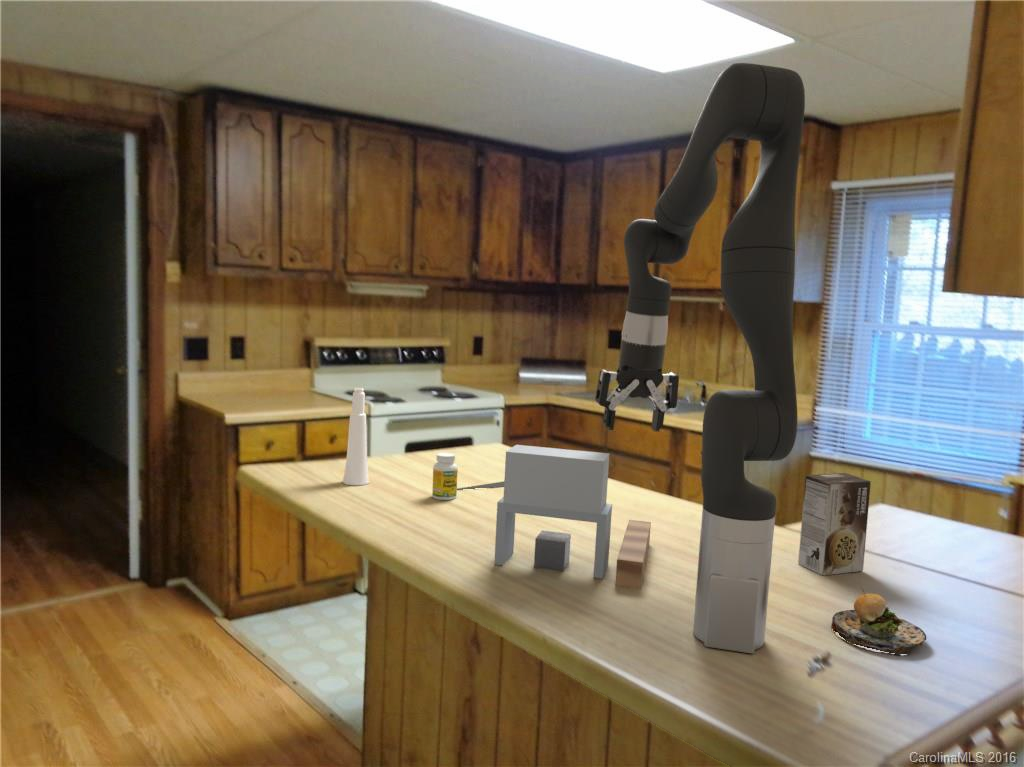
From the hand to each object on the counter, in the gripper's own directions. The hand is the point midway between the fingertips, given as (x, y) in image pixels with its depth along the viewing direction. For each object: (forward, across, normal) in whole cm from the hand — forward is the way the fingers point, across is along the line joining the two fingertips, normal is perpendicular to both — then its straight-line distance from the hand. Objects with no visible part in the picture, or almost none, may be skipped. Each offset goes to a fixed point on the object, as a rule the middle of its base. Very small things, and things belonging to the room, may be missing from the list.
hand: (632, 429), depth 136 cm
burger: (+17, +23, -40) cm, 49 cm away
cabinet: (+21, -15, -9) cm, 27 cm away
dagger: (+30, -11, +47) cm, 57 cm away
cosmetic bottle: (+29, -46, +49) cm, 73 cm away
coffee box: (+20, +34, -14) cm, 42 cm away
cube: (+21, -15, -9) cm, 27 cm away
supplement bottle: (+27, -27, +36) cm, 52 cm away
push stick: (+21, 0, -9) cm, 23 cm away
